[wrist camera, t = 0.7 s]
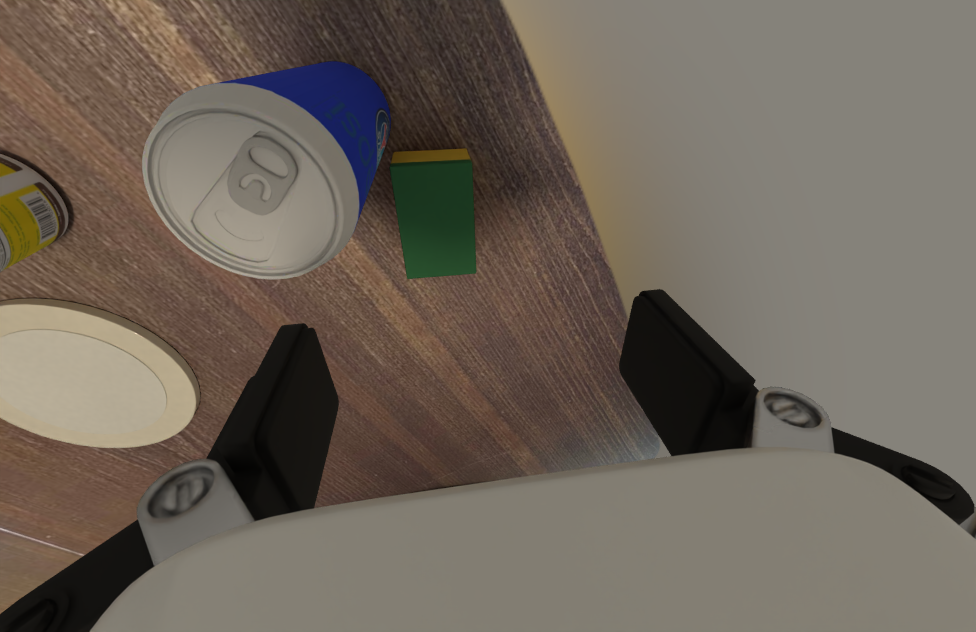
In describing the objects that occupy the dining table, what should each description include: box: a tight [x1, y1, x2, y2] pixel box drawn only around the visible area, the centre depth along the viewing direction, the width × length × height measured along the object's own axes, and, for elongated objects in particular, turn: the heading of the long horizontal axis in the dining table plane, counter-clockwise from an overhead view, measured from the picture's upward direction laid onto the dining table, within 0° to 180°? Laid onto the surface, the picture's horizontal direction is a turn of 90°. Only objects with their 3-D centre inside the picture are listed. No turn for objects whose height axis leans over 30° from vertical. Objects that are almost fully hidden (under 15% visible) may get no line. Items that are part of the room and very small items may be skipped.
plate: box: [0, 298, 200, 448], centre depth 29 cm, size 15×15×1 cm
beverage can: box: [142, 61, 391, 279], centre depth 16 cm, size 5×5×15 cm
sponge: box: [390, 149, 476, 279], centre depth 24 cm, size 7×4×4 cm, turn 1°
